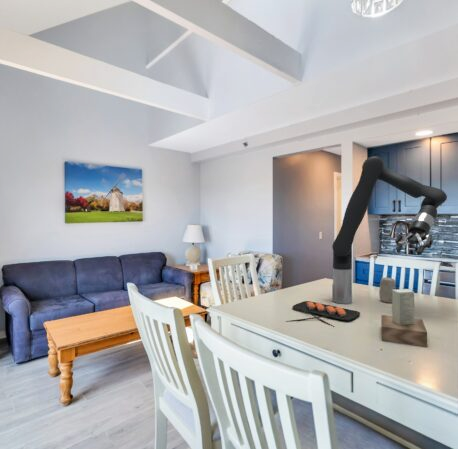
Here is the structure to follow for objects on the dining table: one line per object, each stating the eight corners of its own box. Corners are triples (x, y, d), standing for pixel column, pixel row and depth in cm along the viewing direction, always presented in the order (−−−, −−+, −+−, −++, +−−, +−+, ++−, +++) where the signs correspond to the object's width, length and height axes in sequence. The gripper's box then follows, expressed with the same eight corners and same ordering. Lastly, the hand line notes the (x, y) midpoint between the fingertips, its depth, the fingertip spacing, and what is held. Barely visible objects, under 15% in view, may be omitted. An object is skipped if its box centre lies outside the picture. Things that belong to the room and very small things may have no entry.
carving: (395, 304, 157) (395, 280, 156) (378, 302, 160) (378, 278, 160) (396, 300, 162) (396, 277, 162) (379, 299, 166) (379, 276, 165)
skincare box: (408, 320, 119) (408, 288, 119) (415, 324, 115) (415, 291, 114) (391, 320, 119) (391, 289, 119) (397, 325, 115) (397, 292, 114)
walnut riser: (381, 340, 114) (381, 326, 114) (381, 327, 126) (381, 314, 126) (427, 346, 108) (427, 332, 108) (422, 332, 120) (422, 319, 120)
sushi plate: (362, 316, 141) (362, 307, 141) (331, 336, 120) (331, 326, 120) (305, 303, 162) (305, 296, 162) (270, 318, 141) (270, 310, 140)
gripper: (402, 219, 146) (388, 245, 140) (436, 219, 134) (422, 248, 128) (408, 230, 149) (394, 256, 143) (441, 231, 137) (428, 260, 131)
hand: (407, 252), depth 136 cm, fingers open, 8 cm apart
